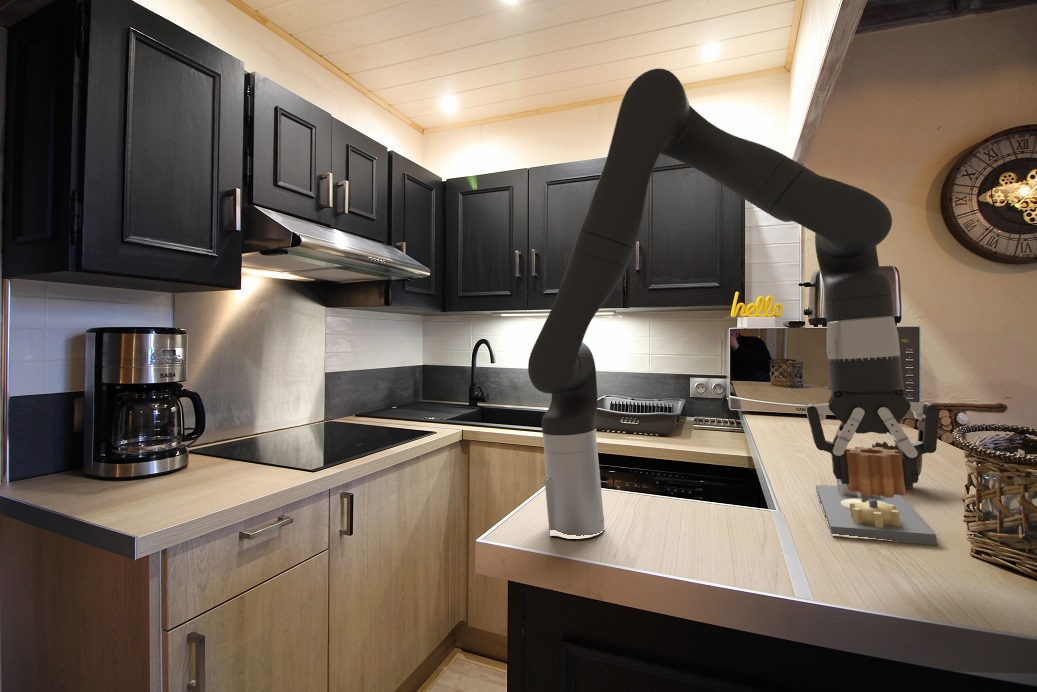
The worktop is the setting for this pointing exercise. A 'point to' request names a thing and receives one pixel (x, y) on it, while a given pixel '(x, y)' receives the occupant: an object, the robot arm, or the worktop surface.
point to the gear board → (873, 516)
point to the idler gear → (875, 471)
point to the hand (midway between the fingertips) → (874, 483)
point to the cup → (885, 446)
